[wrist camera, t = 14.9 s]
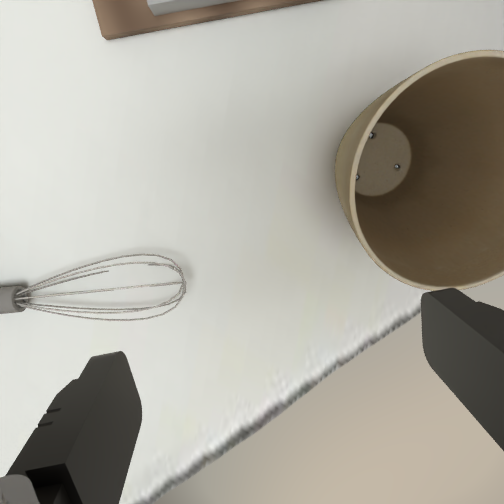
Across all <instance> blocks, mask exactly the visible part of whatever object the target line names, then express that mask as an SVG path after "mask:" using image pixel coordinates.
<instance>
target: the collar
mask: <svg viewBox="0 0 504 504" xmlns="http://www.w3.org/2000/svg"><path fill="white" fill-rule="evenodd" d="M234 1H240V0H147V3H148V6H149V8H150V9H151V11H152V13H153V14H154V16H158V15H164V14H169V13H174V12H180V11H185V10H191V9H196V8H202V7H207V6H212V5H218V4H223V3H229V2H234Z"/></svg>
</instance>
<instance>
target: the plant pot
mask: <svg viewBox="0 0 504 504" xmlns="http://www.w3.org/2000/svg"><path fill="white" fill-rule="evenodd" d="M370 133H373V137H372V138H370V137H369V135H370ZM395 165H399V168H396V167H395ZM356 175H358V176H359V179H357V180H356ZM335 181H336V187H337V192H338V196H339V199H340V202H341V205H342V208H343V210H344V213H345V215H346V217H347V219H348V222H349V224H350V226H351V227H352V229H353V231H354V233H355V234H356V236H357V238H358V240H359V241H360V243H361V244H362V246H363V248H364V249H365V250H366V252H367V253H368V255H369V256H370V257H371V258H372V260H373V261H374V262H375V263H376V264H377V265H378V266H379V267H380V268H381V269H383V270H384V271H385V272H386V273H388V274H389V275H391V276H392V277H394V278H395V279H397V280H399V281H401V282H403V283H405V284H408V285H410V286H413V287H417V288H421V289H425V290H432V291H436V290H442V289H447V288H456V289H458V290H462V289H468V288H472V287H476V286H479V285H482V284H485V283H487V282H489V281H492V280H494V279H496V278H498V277H501V276H502V275H504V51H498V50H478V51H470V52H465V53H460V54H456V55H453V56H450V57H447V58H444V59H442V60H439V61H437V62H435V63H433V64H431V65H429V66H427V67H425V68H424V69H422V70H420V71H418V72H417V73H415V74H413V75H412V76H410V77H409V78H407V79H405V80H404V81H402V82H400V83H399V84H397V85H396V86H394V87H393V88H391V89H390V90H388V91H387V92H385V93H384V94H383V95H381V96H380V97H379V98H377V99H376V100H375V101H374V102H373V103H371V104H370V105H369V106H368V107H367V108H366V109H365V110H364V111H363V112H362V113H361V114H360V115H359V116H358V117H357V118H356V120H355V121H354V122H353V123H352V125H351V126H350V127H349V129H348V130H347V132H346V134H345V135H344V137H343V139H342V141H341V143H340V146H339V149H338V152H337V156H336V162H335Z"/></svg>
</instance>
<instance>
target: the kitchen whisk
mask: <svg viewBox="0 0 504 504" xmlns="http://www.w3.org/2000/svg"><path fill="white" fill-rule="evenodd" d="M139 255H148V256H159V257H162V258H165V259H168V260H171V261H172V262H173V263H174V264H175V265H176V266H177V267H178V268H179V269H180V270H178V269H177V268H176V267H173V266H169V265H165V264H160V263H155V262H130V263H120V264H113V265H108V266H103V267H97V268H93V269H89V270H85V271H81V272H77V273H74V274H70V275H67V276H63V277H60V278H57V279H54V280H51V281H48V280H50V279H52V278H55V277H58V276H60V275H63V274H66V273H68V272H71V271H74V270H77V269H80V268H83V267H86V266H89V265H93V264H96V263H100V262H103V261H108V260H112V259H117V258H122V257H129V256H139ZM134 263H149V265H163V266H167V267H170V268H171V269H173V270H175V271H176V272H178V273H179V274H180V276H181V277H182V280H183V282H173V283H162V284H152V285H141V286H131V287H121V288H111V289H101V290H91V291H82V292H72V293H62V294H53V295H43V296H33V297H28V293H29V292H32V291H35V290H39V289H42V288H45V287H49V286H52V285H56V284H59V283H63V282H67V281H70V280H74V279H78V278H82V277H86V276H90V275H94V274H99V273H103V272H108V271H102V272H98V273H93V274H89V275H85V276H81V277H77V278H73V279H69V280H66V281H62V282H58V283H55V284H51V285H48V286H44V287H41V288H38V289H34V290H31V291H28V292H27V290H30V289H33V288H35V287H38V286H41V285H43V284H46V283H49V282H52V281H55V280H58V279H62V278H65V277H68V276H72V275H75V274H79V273H83V272H87V271H91V270H95V269H99V268H105V267H110V266H115V265H124V264H134ZM174 268H175V269H174ZM177 270H178V271H177ZM45 281H48V282H45ZM43 282H45V283H43ZM40 283H42V284H40ZM181 283H182V286H181V288H180V290H179V293H178V294H180V292H181V289H182V287H183V293H182V296H181V297H180V298H179V299H177V300H175V301H173V302H171V303H174V302H176V301H178V300H179V301H178V303H177V304H176V306H177V305H178V304H179V302H180V301H181V299H182V298H183V295H184V294H185V293H186V281H185V280H184V277H183V273H182V270H181V268H180V267H179V266H178V265H177V264H176V263H175V262H174V261H173V260H172V259H169V258H166V257H163V256H160V255H154V254H136V255H126V256H120V257H115V258H111V259H106V260H102V261H99V262H95V263H92V264H88V265H85V266H82V267H79V268H76V269H73V270H70V271H67V272H65V273H62V274H59V275H57V276H54V277H51V278H49V279H47V280H44V281H42V282H39V283H37V284H35V285H32V286H30V287H28V288H26V289H25V288H24V287H23V286H10V287H0V314H4V313H14V312H22V311H24V310H25V309H26V308H30V309H34V310H39V311H44V312H48V313H53V314H59V315H65V316H71V317H78V318H85V319H95V320H107V321H133V320H143V319H150V318H153V317H157V316H161V315H164V314H166V313H167V312H169V311H171V310H172V309H174V308H176V306H175V307H173V308H172V309H170V310H168V311H166V312H165V313H163V314H160V315H156V316H152V317H148V318H140V319H129V320H125V319H99V318H88V317H81V316H73V315H67V314H61V313H55V312H50V311H45V310H41V309H47V310H55V311H64V312H76V313H95V314H111V313H128V312H138V311H143V310H147V309H152V308H156V307H161V306H165V305H169V304H171V303H168V302H170V301H171V300H172V299H174V298H175V297H176V296H177V295H178V294H176V295H175V296H174V297H173V298H172V299H170V300H169V301H167V302H165V303H162V304H160V305H157V306H155V307H146V308H133V309H97V308H77V307H64V306H52V305H41V304H32V303H28V299H29V298H40V297H50V296H60V295H71V294H81V293H91V292H101V291H111V290H115V289H125V288H135V287H146V286H162V285H172V284H181ZM38 284H40V285H38ZM183 284H184V285H183ZM36 285H37V286H36ZM33 286H34V287H33ZM184 287H185V292H184ZM166 303H168V304H166ZM28 304H29V305H28ZM163 304H164V305H163ZM30 305H38V306H49V307H60V308H73V309H91V310H134V311H124V312H81V311H69V310H59V309H51V308H43V307H37V306H30ZM27 306H28V307H27ZM32 307H34V308H32ZM36 308H41V309H36ZM138 309H141V310H138Z"/></svg>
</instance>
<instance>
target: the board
mask: <svg viewBox="0 0 504 504" xmlns="http://www.w3.org/2000/svg"><path fill="white" fill-rule="evenodd" d="M92 1H93V4H94V8H95V12H96V15H97V19H98V23H99V27H100V30H101V34H102V37H104V38H105V39H106V40H110V39H116V38H121V37H127V36H132V35H137V34H143V33H148V32H154V31H159V30H164V29H170V28H175V27H181V26H186V25H191V24H197V23H202V22H208V21H213V20H218V19H224V18H229V17H235V16H240V15H245V14H251V13H256V12H262V11H267V10H272V9H278V8H283V7H289V6H294V5H300V4H305V3H310V2H316V1H321V0H240V1H234V2H229V3H223V4H218V5H212V6H207V7H202V8H196V9H191V10H185V11H180V12H174V13H169V14H164V15H158V16H154V14H153V13H152V11H151V9H150V8H149V6H148V3H147V0H92Z"/></svg>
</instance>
